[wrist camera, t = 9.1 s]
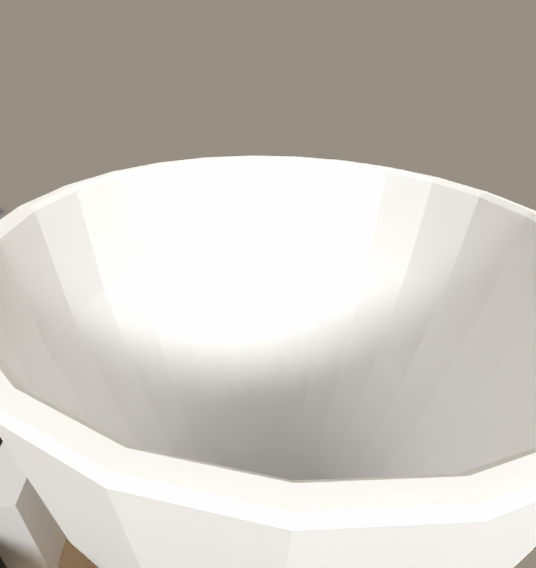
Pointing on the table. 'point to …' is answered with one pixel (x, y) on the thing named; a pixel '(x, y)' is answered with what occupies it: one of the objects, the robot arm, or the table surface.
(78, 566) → the table surface
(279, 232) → the cup
